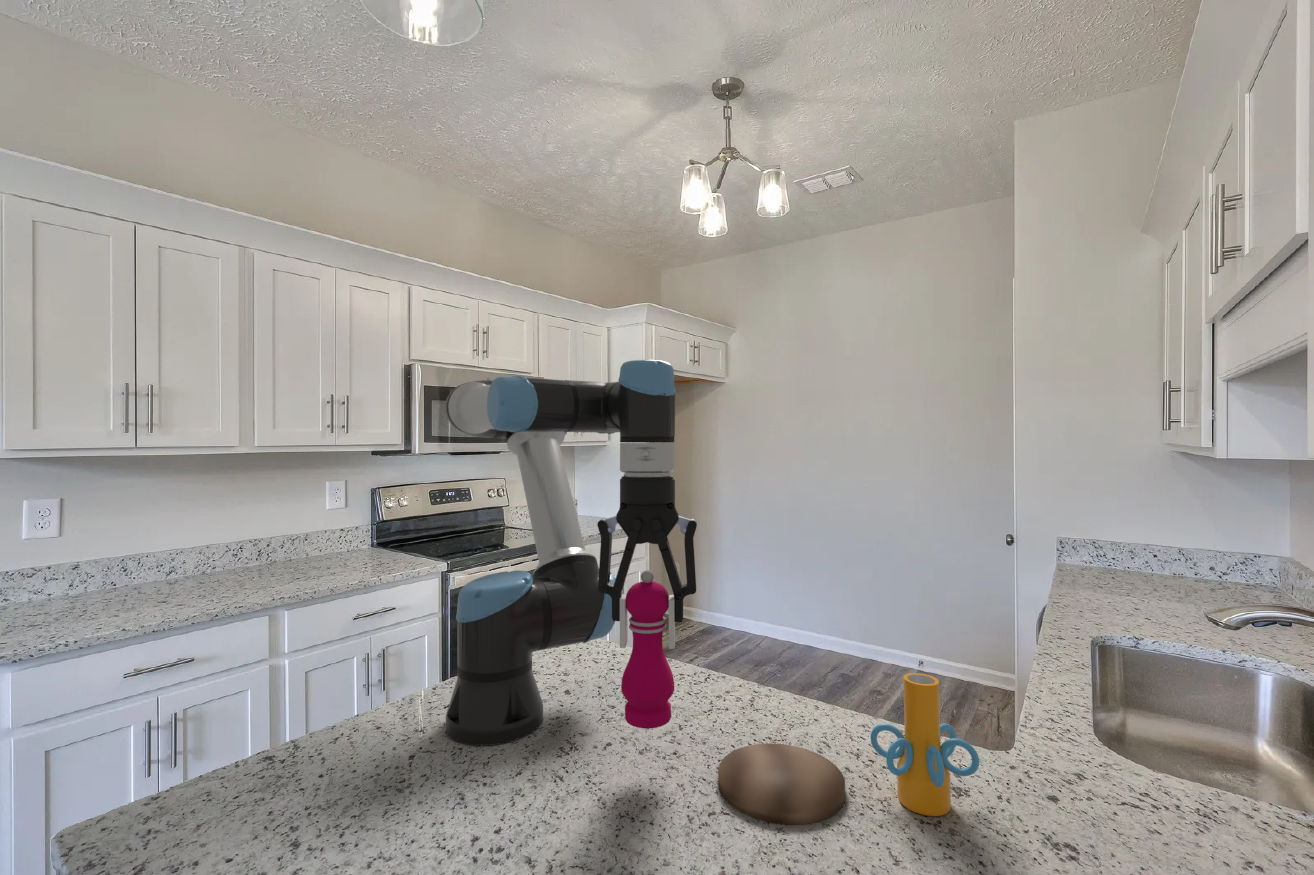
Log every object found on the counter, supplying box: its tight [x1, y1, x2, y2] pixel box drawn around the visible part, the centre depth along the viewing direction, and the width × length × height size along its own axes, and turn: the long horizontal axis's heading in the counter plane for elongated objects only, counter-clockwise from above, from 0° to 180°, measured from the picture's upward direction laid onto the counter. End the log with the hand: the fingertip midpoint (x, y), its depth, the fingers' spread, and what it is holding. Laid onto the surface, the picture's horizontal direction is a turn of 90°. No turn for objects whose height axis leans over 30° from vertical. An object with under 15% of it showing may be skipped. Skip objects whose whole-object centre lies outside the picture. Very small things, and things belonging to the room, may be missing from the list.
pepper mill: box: [620, 569, 675, 729], centre depth 80 cm, size 7×7×20 cm
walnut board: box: [717, 743, 846, 826], centre depth 76 cm, size 16×16×2 cm
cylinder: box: [870, 672, 980, 817], centre depth 72 cm, size 12×10×15 cm
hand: (647, 644), depth 80 cm, fingers closed on pepper mill, 6 cm apart
